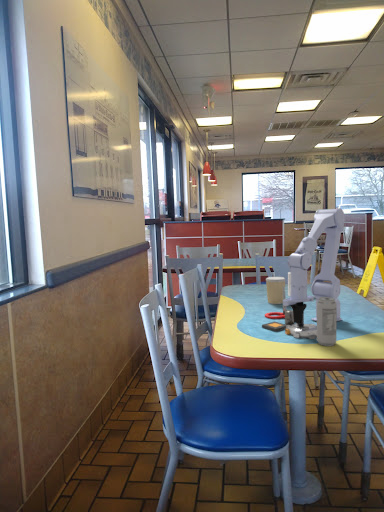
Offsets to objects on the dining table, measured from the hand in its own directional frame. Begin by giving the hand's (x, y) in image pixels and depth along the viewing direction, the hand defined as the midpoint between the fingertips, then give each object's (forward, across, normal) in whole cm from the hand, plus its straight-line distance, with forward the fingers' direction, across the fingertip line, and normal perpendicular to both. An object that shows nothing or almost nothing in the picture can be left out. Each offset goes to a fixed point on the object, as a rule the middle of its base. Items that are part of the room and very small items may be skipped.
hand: (298, 322), depth 135 cm
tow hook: (+3, +8, +19) cm, 20 cm away
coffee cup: (+2, +27, +37) cm, 46 cm away
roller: (+3, +4, +8) cm, 9 cm away
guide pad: (+3, -4, +8) cm, 9 cm away
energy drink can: (+3, -4, -15) cm, 16 cm away
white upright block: (+1, +47, +41) cm, 62 cm away
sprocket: (+3, 0, -3) cm, 4 cm away
